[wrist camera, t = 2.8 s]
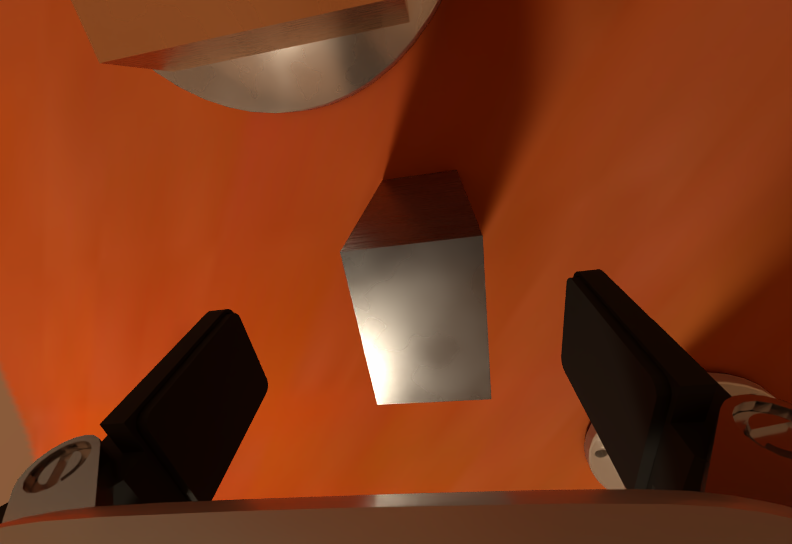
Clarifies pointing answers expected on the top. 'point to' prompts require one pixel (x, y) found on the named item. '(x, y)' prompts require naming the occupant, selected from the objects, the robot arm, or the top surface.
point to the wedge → (420, 291)
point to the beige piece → (258, 45)
